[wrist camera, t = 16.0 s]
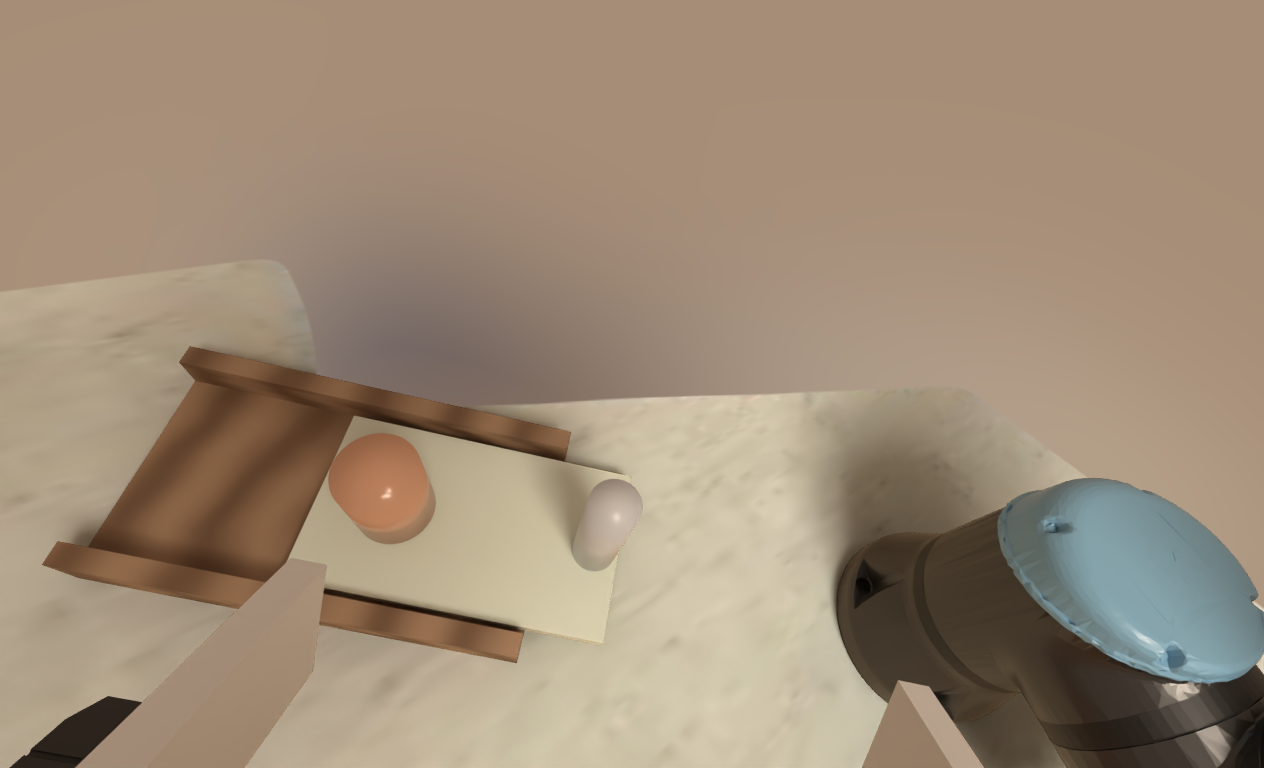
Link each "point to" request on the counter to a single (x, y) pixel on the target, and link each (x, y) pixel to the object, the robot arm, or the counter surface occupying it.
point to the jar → (383, 488)
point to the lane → (273, 494)
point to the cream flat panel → (487, 538)
